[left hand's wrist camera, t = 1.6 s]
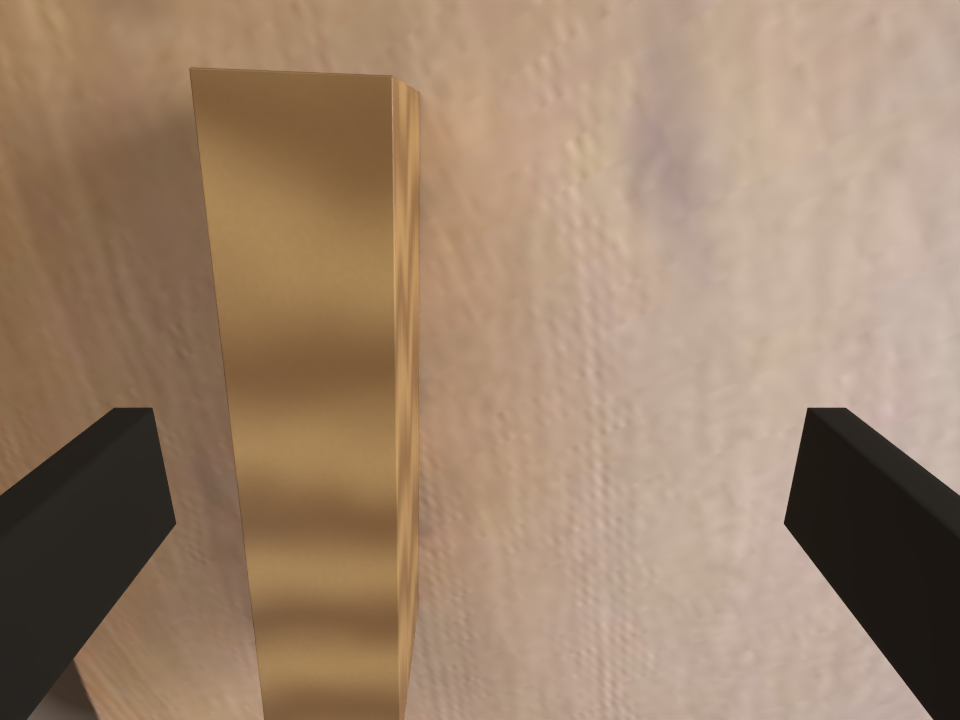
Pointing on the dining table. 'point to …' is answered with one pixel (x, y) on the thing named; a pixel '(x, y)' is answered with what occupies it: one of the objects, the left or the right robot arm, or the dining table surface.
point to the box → (320, 373)
